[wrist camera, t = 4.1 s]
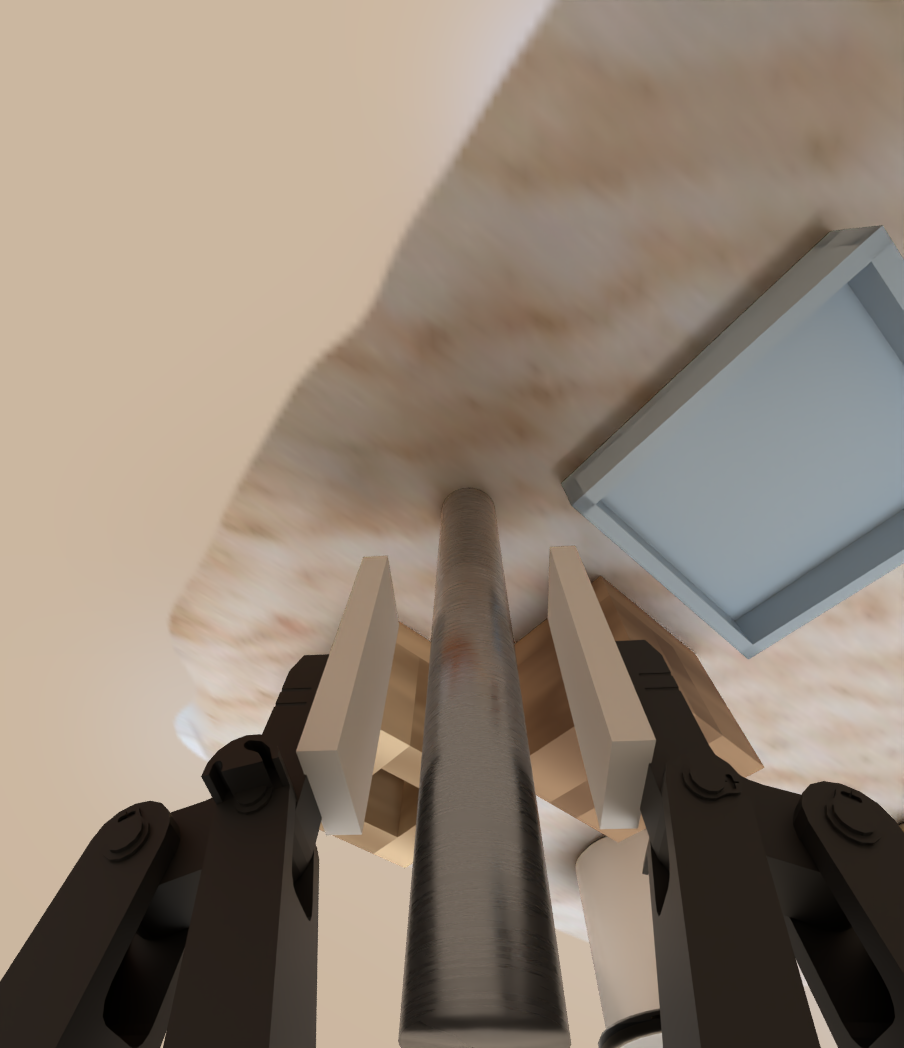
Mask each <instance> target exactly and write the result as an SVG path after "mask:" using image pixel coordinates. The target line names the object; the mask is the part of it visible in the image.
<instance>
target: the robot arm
mask: <svg viewBox="0 0 904 1048" xmlns="http://www.w3.org/2000/svg"><path fill="white" fill-rule="evenodd" d="M548 622H549V626H550V630H551V634H552V638H553V642H554V646H555V650H556V654H557V658H558V662H559V666H560V670H561V674H562V678H563V682H564V686H565V690H566V694H567V698H568V702H569V706H570V710H571V714H572V718H573V722H574V726H575V730H576V734H577V738H578V742H579V746H580V750H581V754H582V758H583V762H584V766H585V770H586V774H587V778H588V783H589V787H590V791H591V795H592V799H593V803H594V807H595V811H596V815H597V819H598V823H599V827H600V829H635V828H638V826H639V821H640V816H641V814H642V817H643V820H644V823H645V826H646V829H647V832H648V835H649V841H648V845H647V849H646V854H645V858H644V863H643V871H642V874H645V875H648V874H649V884H650V896H651V908H652V920H653V932H654V944H655V957H656V969H657V981H658V993H659V1005H660V1017H661V1029H662V1041H663V1048H821V1047H820V1044H819V1040H818V1037H817V1033H816V1029H815V1026H814V1022H813V1019H812V1016H811V1012H810V1008H809V1005H808V1001H807V998H806V995H805V991H804V987H803V984H802V980H801V977H800V973H799V969H798V966H797V963H798V965H799V967H800V969H801V971H802V973H803V975H804V977H805V979H806V981H807V983H808V986H809V988H810V989H811V992H812V994H813V996H814V998H815V1000H816V1002H817V1004H818V1006H819V1008H820V1010H821V1013H822V1015H823V1017H824V1019H825V1021H826V1023H827V1025H828V1027H829V1029H830V1031H831V1034H832V1035H833V1038H834V1040H835V1042H836V1044H837V1046H838V1048H904V832H903V831H902V829H901V828H900V827H899V825H898V824H897V823H896V822H895V820H894V819H893V818H892V817H891V816H890V815H889V814H888V813H887V812H886V811H885V810H884V809H883V808H882V807H881V806H880V805H879V804H878V803H876V802H875V801H873V800H872V799H870V798H869V797H867V796H866V795H864V794H863V793H861V792H860V791H857V790H855V789H852V788H850V787H847V786H845V785H843V784H839V783H832V782H825V781H823V782H818V783H814V784H810V785H809V786H808V787H807V789H806V790H805V791H804V792H803V793H802V795H800V794H796V793H792V792H789V791H785V790H781V789H777V788H773V787H769V786H766V785H762V784H759V783H756V782H753V781H751V780H748V779H746V778H744V777H743V776H741V775H739V773H738V772H737V771H736V770H735V769H734V768H733V767H732V766H731V765H730V764H729V763H728V762H726V761H724V760H723V759H721V758H720V757H718V756H717V755H715V753H714V752H713V750H712V749H711V747H710V746H709V744H708V742H707V740H706V738H705V736H704V734H703V732H702V731H701V729H700V727H699V725H698V723H697V721H696V719H695V717H694V715H693V713H692V711H691V710H690V708H689V706H688V704H687V702H686V700H685V698H684V696H683V694H682V692H681V691H679V687H678V685H677V683H676V681H675V679H674V677H673V676H671V671H670V669H669V668H668V666H667V664H666V662H665V660H664V658H663V656H662V654H661V653H659V652H658V651H657V650H656V649H655V648H654V647H653V646H652V645H651V644H649V643H648V642H647V641H646V640H626V641H615V640H614V638H613V635H612V633H611V630H610V628H609V626H608V623H607V621H606V618H605V616H604V614H603V611H602V609H601V606H600V604H599V602H598V599H597V597H596V594H595V592H594V590H593V587H592V585H591V582H590V580H589V577H588V575H587V573H586V570H585V568H584V565H583V563H582V561H581V558H580V556H579V553H578V551H577V549H576V546H561V547H550V556H549V589H548ZM398 628H399V621H398V615H397V609H396V603H395V597H394V591H393V585H392V579H391V573H390V567H389V561H388V556H373V557H363V559H362V562H361V565H360V568H359V571H358V574H357V576H356V579H355V582H354V585H353V588H352V591H351V594H350V597H349V600H348V603H347V605H346V608H345V611H344V614H343V617H342V620H341V623H340V626H339V629H338V631H337V634H336V637H335V640H334V643H333V646H332V649H331V652H330V654H327V655H304V656H303V657H302V658H301V659H300V660H299V661H298V662H297V664H296V665H295V666H294V667H293V668H292V669H291V670H290V671H289V673H288V676H287V678H286V680H285V683H284V685H283V687H282V692H280V694H279V697H278V699H277V701H276V706H275V707H274V708H273V710H272V713H271V715H270V717H269V720H268V722H267V724H266V727H265V729H264V731H263V734H262V735H260V734H258V735H246V736H244V737H241V738H238V739H236V740H233V741H231V742H230V743H228V744H227V745H226V746H224V747H223V748H221V749H220V750H218V751H217V753H216V754H215V755H214V756H213V757H212V758H211V759H210V761H209V762H208V763H207V765H206V767H205V770H204V772H203V774H202V776H201V777H202V779H203V781H204V782H205V784H206V786H207V788H208V790H209V792H210V793H211V796H212V797H213V798H211V799H208V800H206V801H203V802H201V803H197V804H194V805H192V806H189V807H186V808H183V809H180V810H177V811H174V812H171V813H170V812H169V811H168V809H167V808H166V807H165V806H164V805H163V804H162V803H158V802H154V801H147V802H142V803H138V804H134V805H132V806H130V807H128V808H126V809H124V810H122V811H121V812H119V813H118V814H116V815H115V816H114V817H113V818H112V819H110V820H109V821H108V822H107V823H105V824H104V825H103V826H102V828H101V829H100V830H99V831H98V833H97V834H96V835H95V836H94V837H93V839H92V840H91V841H90V843H89V845H88V846H87V848H86V849H85V851H84V852H83V854H82V856H81V857H80V859H79V860H78V862H77V863H76V865H75V866H74V868H73V870H72V871H71V873H70V874H69V876H68V877H67V879H66V881H65V882H64V883H63V885H62V887H61V888H60V890H59V891H58V893H57V894H56V896H55V898H54V899H53V901H52V902H51V904H50V905H49V907H48V908H47V910H46V912H45V913H44V915H43V916H42V918H41V919H40V921H39V922H38V924H37V925H36V927H35V928H34V930H33V932H32V933H31V935H30V936H29V938H28V940H27V941H26V942H25V944H24V946H23V947H22V949H21V950H20V952H19V953H18V955H17V956H16V958H15V959H14V961H13V963H12V964H11V966H10V967H9V969H8V970H7V972H6V974H5V975H4V977H3V978H2V980H1V981H0V1048H160V1046H161V1044H162V1041H163V1039H164V1036H165V1033H166V1036H165V1041H164V1046H163V1048H316V1006H317V1001H316V1000H317V948H318V894H319V893H318V891H319V856H318V851H317V847H316V844H315V843H316V839H317V836H318V832H319V828H320V824H321V822H322V825H323V828H324V831H325V833H326V835H362V831H363V826H364V820H365V814H366V809H367V803H368V797H369V792H370V786H371V781H372V775H373V769H374V764H375V758H376V752H377V747H378V741H379V735H380V730H381V724H382V719H383V713H384V707H385V702H386V696H387V690H388V685H389V679H390V673H391V668H392V662H393V657H394V651H395V645H396V640H397V634H398ZM795 958H796V959H795ZM796 960H797V962H796ZM166 1031H167V1032H166Z"/></svg>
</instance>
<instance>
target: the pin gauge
mask: <svg viewBox="0 0 904 1048" xmlns="http://www.w3.org/2000/svg"><path fill="white" fill-rule="evenodd" d="M398 1041H399V1045H400V1047H401V1048H570V1046H571V1039H570V1032H569V1025H568V1018H567V1011H566V1004H565V997H564V990H563V984H562V976H561V969H560V962H559V955H558V948H557V941H556V935H555V927H554V920H553V913H552V906H551V899H550V892H549V885H548V878H547V871H546V864H545V857H544V850H543V843H542V836H541V829H540V822H539V815H538V808H537V801H536V794H535V787H534V780H533V773H532V766H531V759H530V751H529V744H528V737H527V730H526V723H525V716H524V709H523V702H522V695H521V688H520V681H519V674H518V667H517V660H516V653H515V646H514V639H513V632H512V625H511V618H510V611H509V604H508V597H507V590H506V583H505V576H504V569H503V562H502V555H501V548H500V541H499V534H498V527H497V520H496V513H495V507H494V504H493V501H492V500H491V498H490V497H489V496H488V495H487V494H486V493H484V492H482V491H480V490H478V489H474V488H463V489H459V490H457V491H455V492H453V493H452V494H450V495H449V496H448V497H447V498H446V500H445V501H444V504H443V506H442V514H441V526H440V538H439V550H438V563H437V575H436V587H435V599H434V612H433V624H432V636H431V648H430V660H429V673H428V685H427V697H426V709H425V722H424V734H423V746H422V758H421V770H420V783H419V795H418V807H417V819H416V832H415V844H414V856H413V868H412V881H411V893H410V905H409V917H408V930H407V942H406V955H405V967H404V978H403V991H402V1003H401V1016H400V1028H399V1040H398Z"/></svg>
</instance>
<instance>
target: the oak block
mask: <svg viewBox="0 0 904 1048" xmlns="http://www.w3.org/2000/svg"><path fill="white" fill-rule="evenodd" d="M430 648H431V642H430V641H428V640H427V639H425V638H424V637H422V636H421V635H419V634H418V633H416V632H415V631H413V630H411V629H410V628H408V627H407V626H405V625H404V624H402V623H401V622H399V628H398V634H397V640H396V645H395V651H394V657H393V662H392V668H391V673H390V679H389V685H388V690H387V696H386V702H385V707H384V713H383V719H382V724H381V730H380V735H379V741H378V747H377V752H376V758H375V764H374V769H373V775H372V781H371V786H370V792H369V797H368V803H367V809H366V814H365V820H364V826H363V831H362V835H333V836H335V837H337V838H339V839H342V840H344V841H346V842H348V843H351V844H353V845H355V846H357V847H359V848H362V849H364V850H366V851H368V852H370V853H373V854H375V855H377V856H379V857H381V858H384V859H386V860H388V861H390V862H393V863H395V864H397V865H399V866H402V867H404V868H406V867H408V866H409V865H411V864H412V863H413V856H414V844H415V832H416V819H417V807H418V795H419V783H420V770H421V758H422V746H423V734H424V722H425V709H426V697H427V685H428V673H429V660H430ZM319 830H322V831H324V828H323V825H322V822H321V824H320V828H319ZM324 832H325V831H324Z"/></svg>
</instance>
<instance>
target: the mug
mask: <svg viewBox="0 0 904 1048" xmlns="http://www.w3.org/2000/svg"><path fill="white" fill-rule="evenodd" d="M648 841H649V835H648V832H647V829H644V830H642V831H640V832H638V833H636V834H634V835H632V836H630V837H628V838H626V839H624V840H622V841H620V842H619V843H618V842H616V841H614V840H613V839H611V838H609V837H608V836H606V837H604V838H601V839H599V840H597V841H596V842H594V843H593V844H591V845H590V846H589V847H588V848H587V849H586V850H585V851H584V852H583V853H582V854H581V855H580V856H579V858H578V860H577V862H576V866H575V869H576V876H577V881H578V886H579V891H580V896H581V902H582V907H583V912H584V917H585V922H586V928H587V933H588V938H589V943H590V948H591V953H592V959H593V964H594V969H595V974H596V979H597V985H598V990H599V995H600V1000H601V1006H602V1011H603V1016H604V1021H605V1026H606V1030H605V1031H604V1032H603V1033H602V1035H601V1037H600V1039H599V1042H598V1046H599V1048H663V1041H662V1029H661V1017H660V1005H659V993H658V981H657V969H656V957H655V944H654V932H653V920H652V908H651V896H650V884H649V874H648V875H645V874H642V871H643V863H644V858H645V854H646V849H647V845H648Z"/></svg>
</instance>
